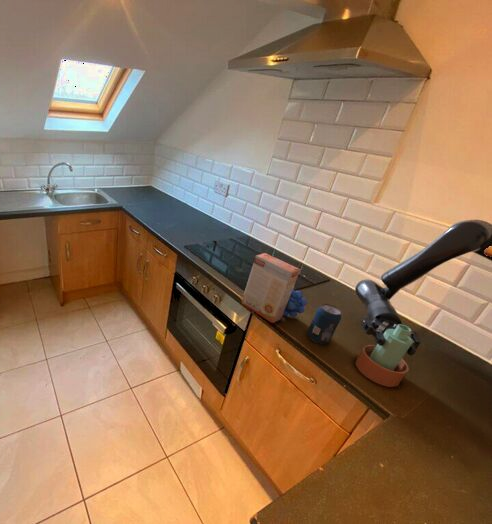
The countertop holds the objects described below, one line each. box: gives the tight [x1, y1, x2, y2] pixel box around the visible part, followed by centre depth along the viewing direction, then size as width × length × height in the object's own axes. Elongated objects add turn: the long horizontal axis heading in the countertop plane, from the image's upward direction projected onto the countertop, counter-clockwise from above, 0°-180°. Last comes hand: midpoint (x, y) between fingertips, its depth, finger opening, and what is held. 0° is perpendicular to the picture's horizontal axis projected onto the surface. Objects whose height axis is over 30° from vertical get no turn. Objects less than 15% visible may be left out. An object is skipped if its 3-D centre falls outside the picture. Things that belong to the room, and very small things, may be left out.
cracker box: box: [240, 252, 301, 324], centre depth 107 cm, size 14×6×21 cm, turn 34°
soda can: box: [307, 303, 342, 345], centre depth 98 cm, size 7×7×12 cm
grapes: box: [282, 287, 308, 318], centre depth 107 cm, size 12×7×12 cm, turn 78°
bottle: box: [369, 323, 413, 371], centre depth 85 cm, size 6×6×14 cm
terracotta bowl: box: [355, 344, 410, 388], centre depth 88 cm, size 11×11×6 cm
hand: (397, 348), depth 82 cm, fingers closed on bottle, 6 cm apart
